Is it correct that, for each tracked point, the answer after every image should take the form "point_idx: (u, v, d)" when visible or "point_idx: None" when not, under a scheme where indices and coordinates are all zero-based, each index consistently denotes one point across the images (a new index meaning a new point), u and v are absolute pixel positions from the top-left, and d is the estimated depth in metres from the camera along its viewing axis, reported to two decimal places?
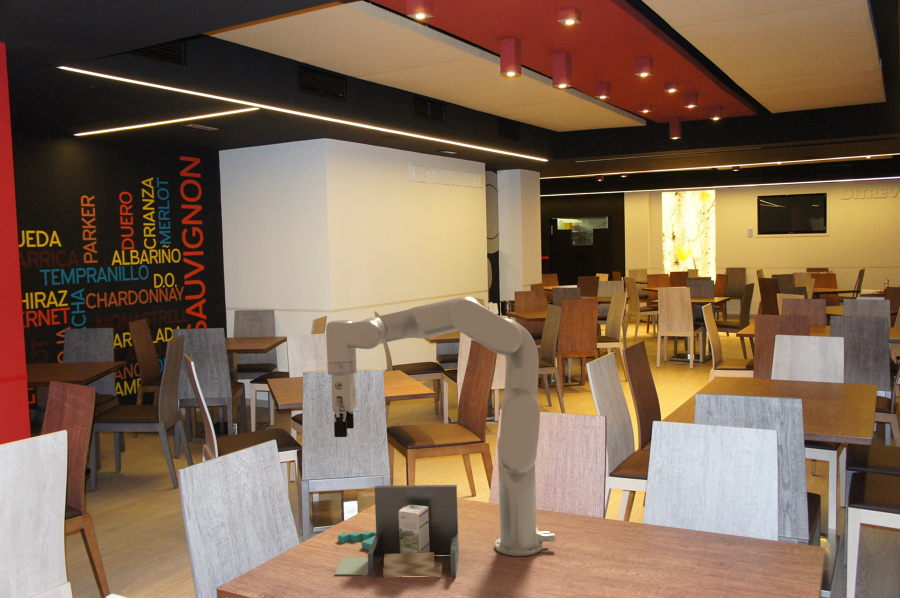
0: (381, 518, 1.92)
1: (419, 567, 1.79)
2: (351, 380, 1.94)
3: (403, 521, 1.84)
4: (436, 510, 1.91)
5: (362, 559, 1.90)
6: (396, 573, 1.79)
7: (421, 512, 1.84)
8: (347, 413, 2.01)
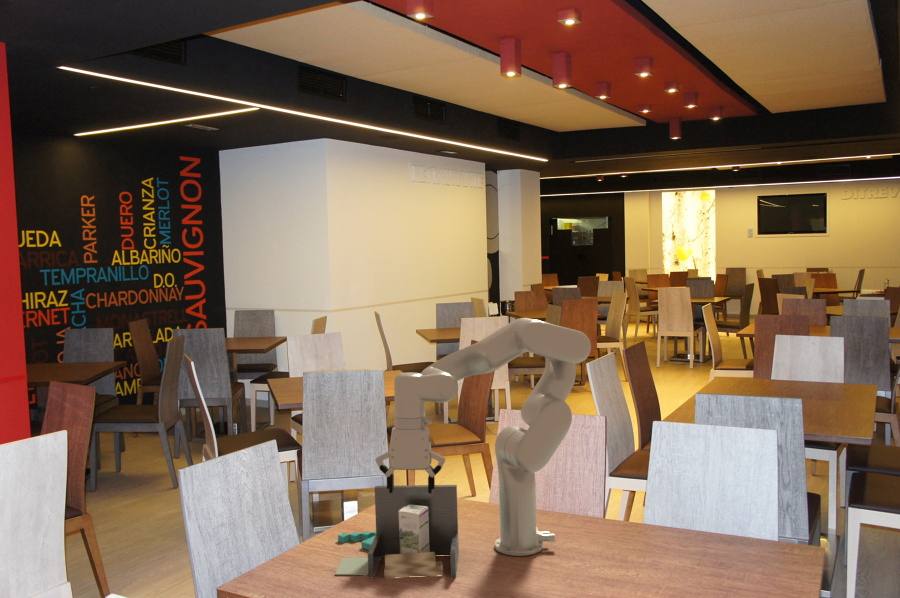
0: (381, 518, 1.92)
1: (420, 567, 1.79)
2: None
3: (403, 521, 1.84)
4: (436, 510, 1.91)
5: (362, 559, 1.90)
6: (397, 574, 1.79)
7: (421, 512, 1.84)
8: (392, 475, 1.85)
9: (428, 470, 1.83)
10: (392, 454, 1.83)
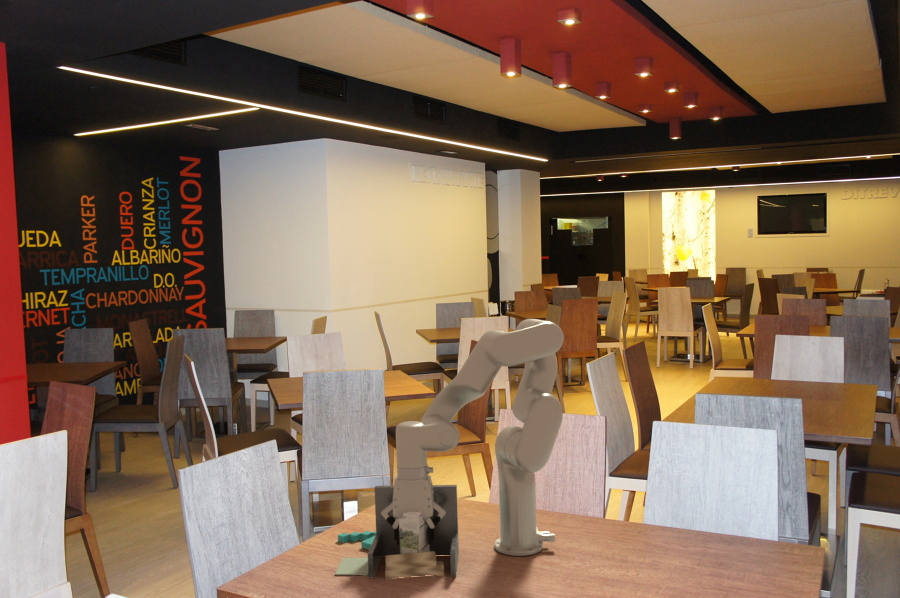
0: (381, 518, 1.92)
1: (421, 567, 1.79)
2: None
3: (403, 521, 1.84)
4: (436, 510, 1.91)
5: (362, 559, 1.90)
6: (398, 574, 1.79)
7: None
8: None
9: (428, 521, 1.84)
10: (395, 504, 1.84)
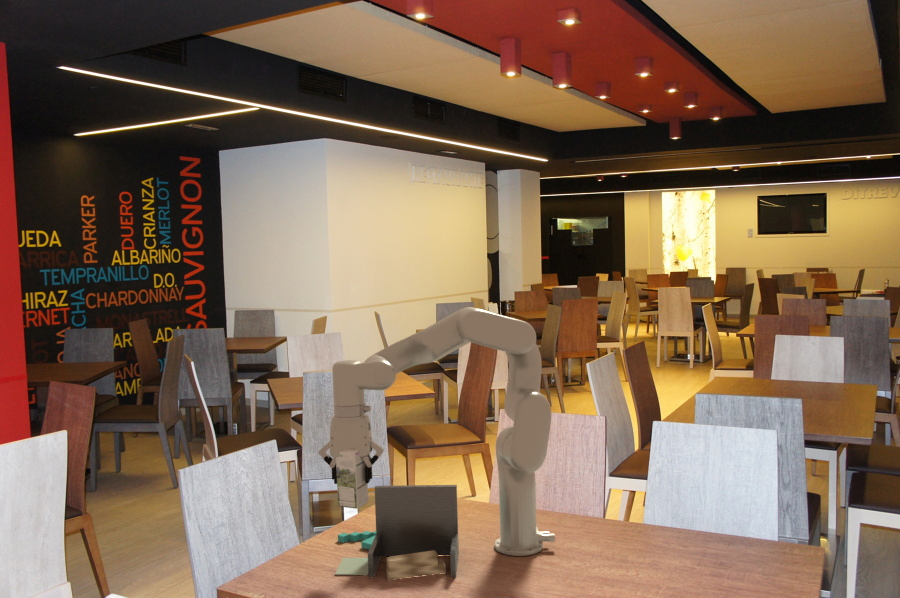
0: (381, 518, 1.92)
1: (423, 566, 1.80)
2: None
3: (340, 459, 1.83)
4: (436, 510, 1.91)
5: (362, 559, 1.90)
6: (401, 575, 1.78)
7: None
8: None
9: (366, 459, 1.83)
10: (332, 442, 1.83)
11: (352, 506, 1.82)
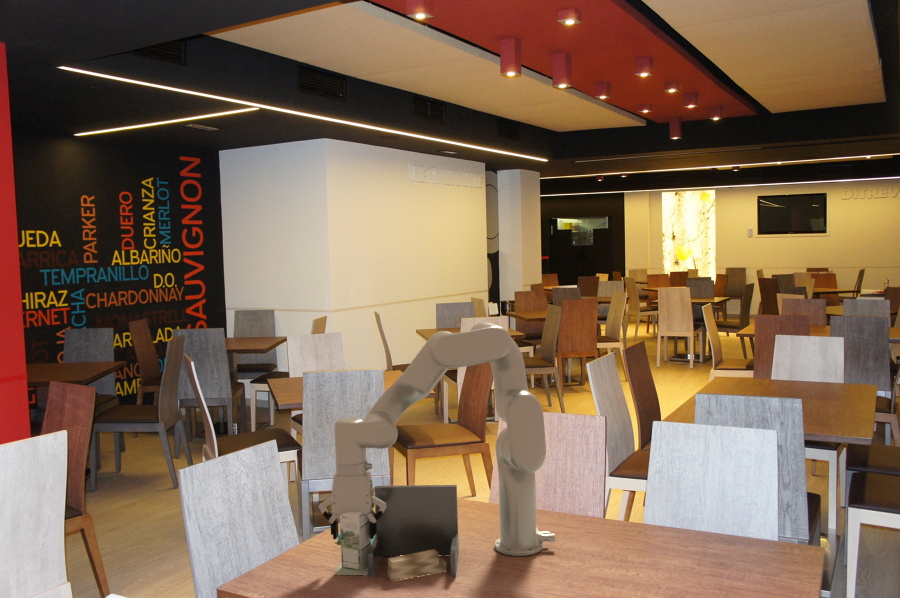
0: (381, 518, 1.92)
1: (425, 566, 1.80)
2: None
3: (344, 521, 1.84)
4: (436, 510, 1.91)
5: None
6: (403, 575, 1.78)
7: None
8: (336, 520, 1.86)
9: (369, 516, 1.84)
10: (334, 500, 1.84)
11: (356, 568, 1.83)
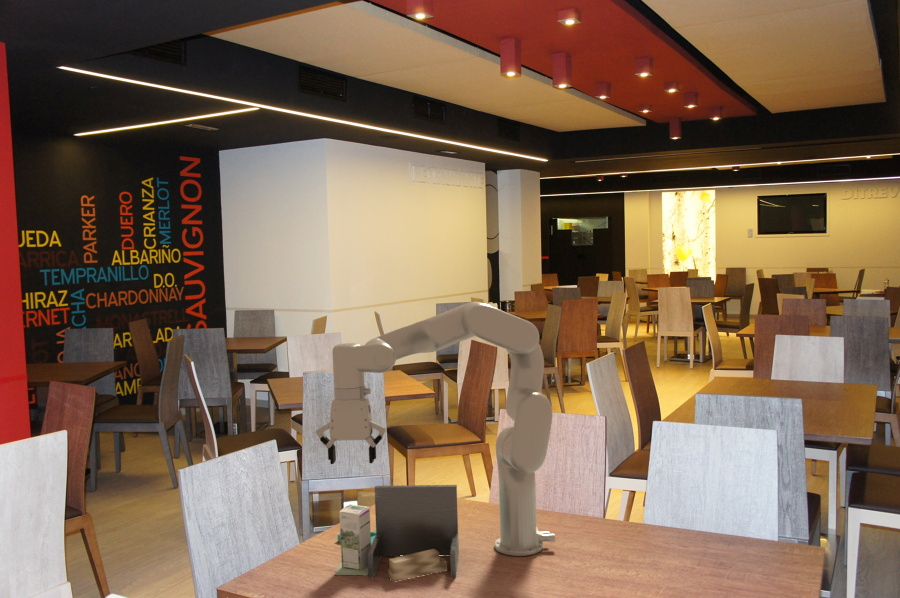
0: (381, 518, 1.92)
1: (426, 565, 1.80)
2: None
3: (344, 521, 1.84)
4: (436, 510, 1.91)
5: None
6: (405, 576, 1.78)
7: (362, 512, 1.83)
8: (333, 446, 1.85)
9: (368, 440, 1.83)
10: (332, 425, 1.83)
11: (356, 568, 1.83)
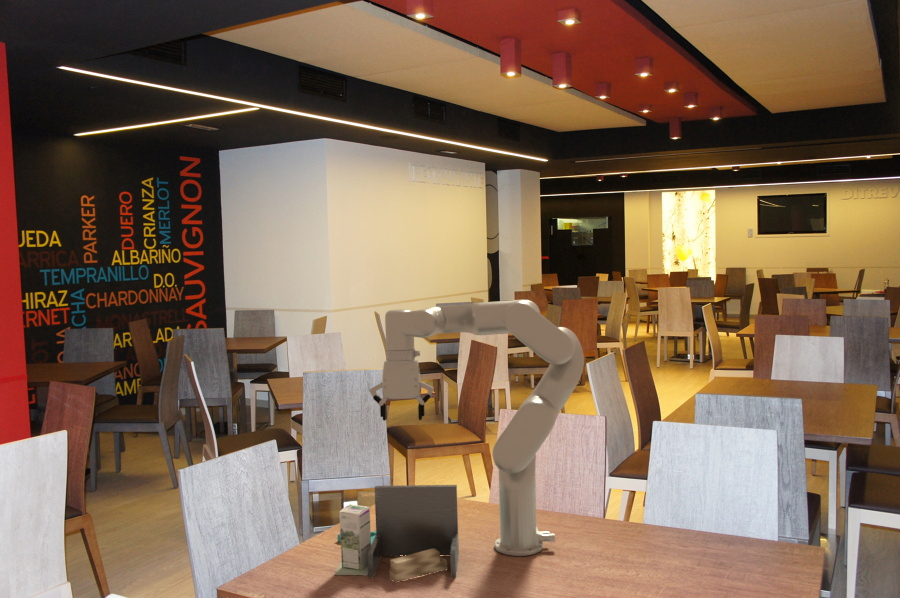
0: (381, 518, 1.92)
1: (427, 565, 1.80)
2: None
3: (344, 521, 1.84)
4: (436, 510, 1.91)
5: None
6: (407, 576, 1.78)
7: (362, 512, 1.83)
8: (385, 404, 2.01)
9: (418, 398, 1.99)
10: (384, 384, 1.99)
11: (356, 568, 1.83)
